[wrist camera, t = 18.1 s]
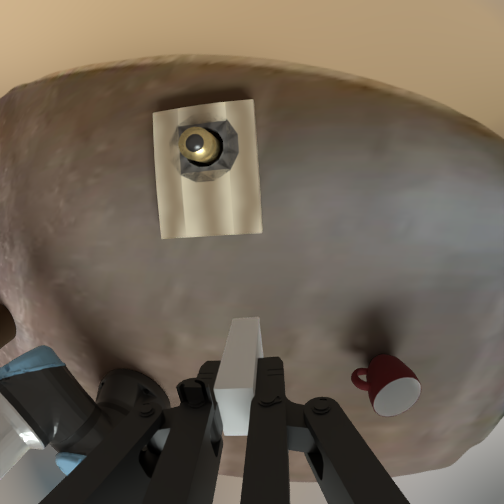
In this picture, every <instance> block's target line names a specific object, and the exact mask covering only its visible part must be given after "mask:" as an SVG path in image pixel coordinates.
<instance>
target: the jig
mask: <svg viewBox="0 0 504 504" xmlns="http://www.w3.org/2000/svg"><path fill="white" fill-rule="evenodd" d="M191 127H201V128H204V129H205V130H207V131H214V132H216V133H218V134H219V135H220V136H221V138H222V139H223V149H224V150H223V152H222V154H221V156H220V158H219V160H218V161H216V162H215V163H214V164H212V165H211V166H207V167H200V166H198V165H196V164H195V163H194V162H193V160H191V159H188V158H186V157H184V156H183V155H182V154H181V152H180V150H179V146H178V143H179V138H180V136H181V134H182V133H183V132H184V131H185V130H187V129H188V128H191ZM153 135H154V156H155V172H156V186H157V198H158V209H159V220H160V229H161V238H162V239H169V238H184V237H200V236H217V235H234V234H252V233H262V231H263V225H262V209H261V193H260V178H259V163H258V148H257V134H256V120H255V106H254V101H253V99H250V100H238V101H228V102H219V103H211V104H203V105H196V106H189V107H183V108H177V109H171V110H166V111H160V112H155V113H153Z"/></svg>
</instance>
